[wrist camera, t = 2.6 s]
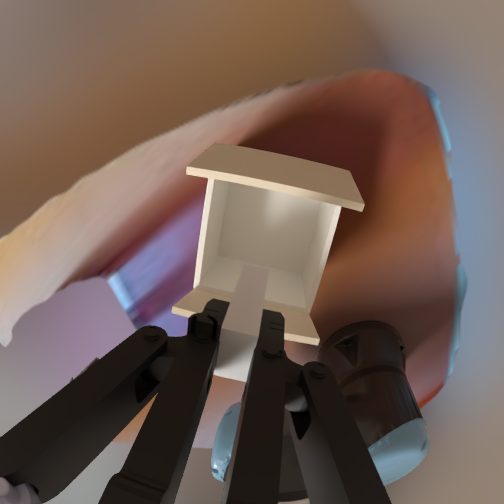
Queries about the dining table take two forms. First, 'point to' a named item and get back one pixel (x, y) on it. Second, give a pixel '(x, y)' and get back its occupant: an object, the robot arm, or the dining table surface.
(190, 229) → the dining table surface
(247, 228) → the carton
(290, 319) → the far flap
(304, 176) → the near flap
